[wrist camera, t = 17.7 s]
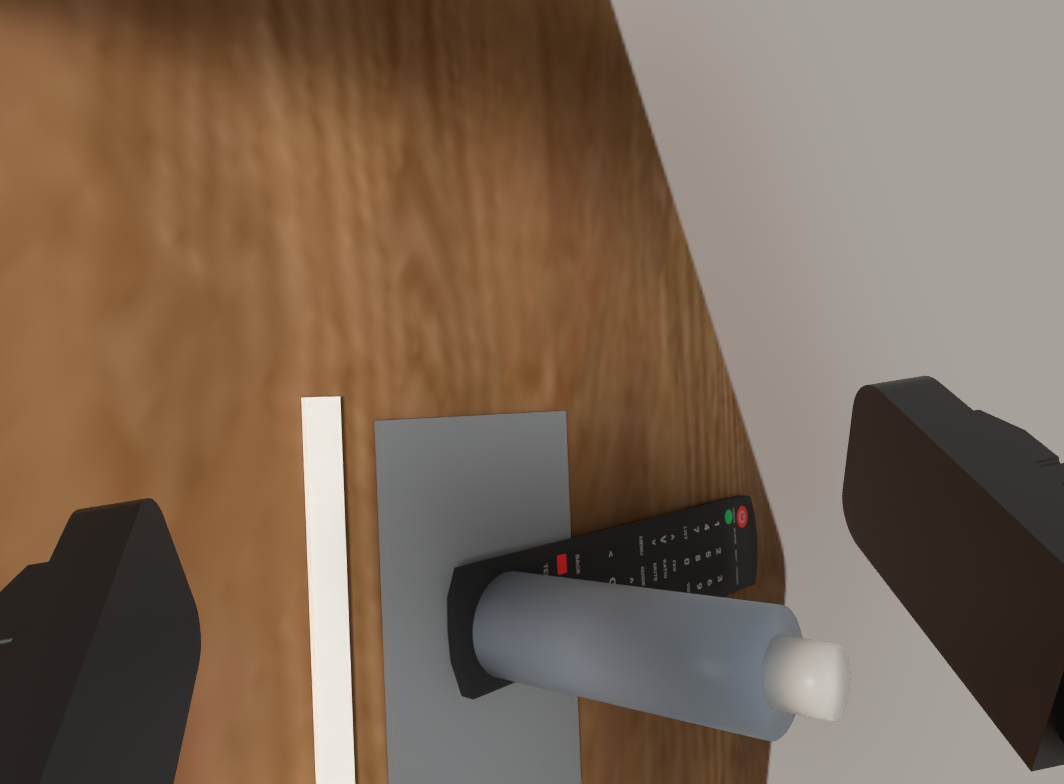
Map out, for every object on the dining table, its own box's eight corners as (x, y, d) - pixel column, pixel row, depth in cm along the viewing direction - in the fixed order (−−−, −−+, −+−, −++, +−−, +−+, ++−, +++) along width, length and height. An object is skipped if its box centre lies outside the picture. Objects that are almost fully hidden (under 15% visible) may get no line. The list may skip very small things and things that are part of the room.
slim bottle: (472, 577, 35) (807, 623, 26) (541, 565, 39) (859, 602, 30) (472, 688, 35) (810, 772, 26) (542, 666, 38) (862, 735, 29)
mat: (374, 420, 35) (380, 420, 34) (559, 410, 43) (565, 410, 42) (392, 876, 35) (398, 879, 34) (575, 781, 42) (581, 783, 42)
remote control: (443, 566, 36) (466, 569, 35) (734, 494, 54) (754, 494, 53) (450, 692, 36) (473, 699, 35) (739, 579, 54) (759, 581, 53)
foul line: (301, 397, 32) (305, 397, 32) (335, 396, 34) (340, 396, 33) (322, 940, 32) (326, 943, 32) (355, 921, 33) (360, 924, 33)
